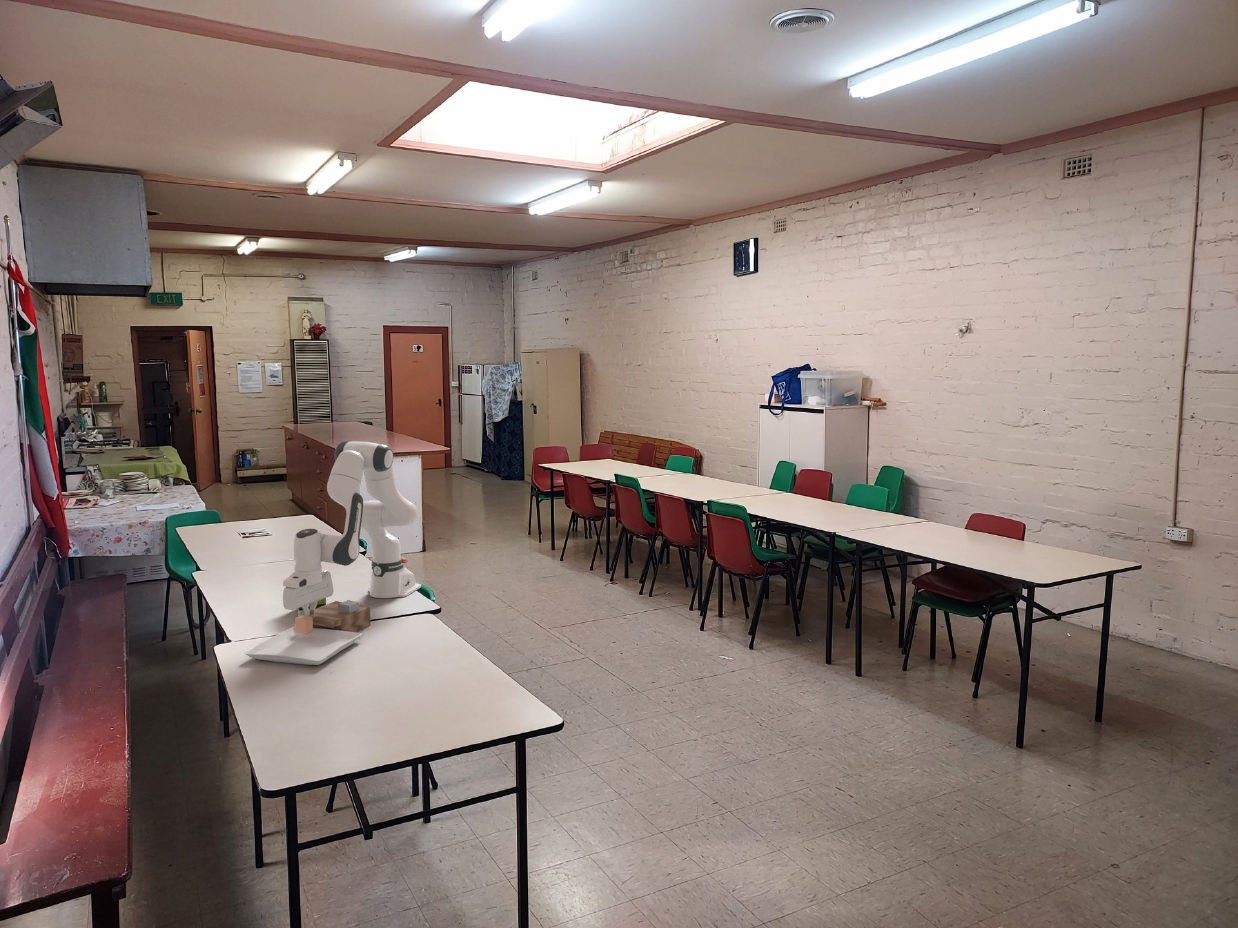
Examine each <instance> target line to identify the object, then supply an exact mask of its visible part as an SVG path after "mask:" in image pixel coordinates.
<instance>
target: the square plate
mask: <svg viewBox="0 0 1238 928" xmlns="http://www.w3.org/2000/svg"><path fill="white" fill-rule="evenodd" d="M362 636H363V633H362V632H347V631H339V630H330V629H320V628H313V632H311V633H309V634H302V633H297V632H295V626H292V627H290V628H288V629H286V630H284V631H282V632H280V633H277V634H275V636H272V637H270V638H269V639H267V640H265V641H263V642H261V643H260V644H258V645H256V646H254V647H253V648H252V649H249V650H247V651H246V652H245V653H244V655H246V656H248V657H249V658H251V659H255V660H260V661H267V662H275V663H284V664H285V663H286V664H297V665H307V666H310V665H311V666H319V665H321V664H323V663H324V662H326V661H327V660H329V659H330V658H333V656H336V655H337V654H338V653H340V652H342V651H343V650H345V649H347V648H348V647H350V646H351V645H353V644H354V643H356V642H357V641H358V640H359V639H360V638H361V637H362Z"/></svg>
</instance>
